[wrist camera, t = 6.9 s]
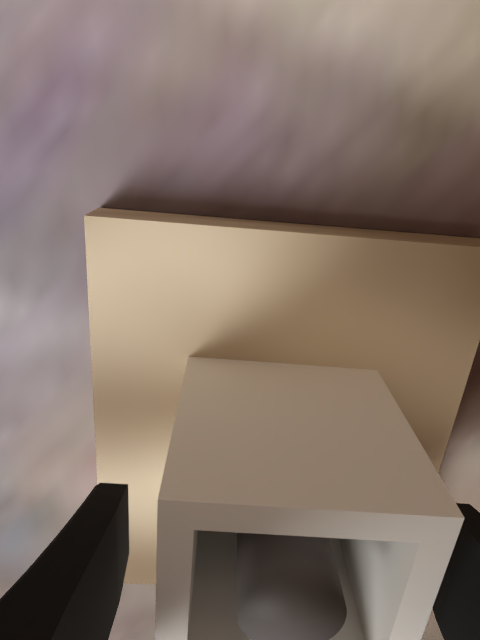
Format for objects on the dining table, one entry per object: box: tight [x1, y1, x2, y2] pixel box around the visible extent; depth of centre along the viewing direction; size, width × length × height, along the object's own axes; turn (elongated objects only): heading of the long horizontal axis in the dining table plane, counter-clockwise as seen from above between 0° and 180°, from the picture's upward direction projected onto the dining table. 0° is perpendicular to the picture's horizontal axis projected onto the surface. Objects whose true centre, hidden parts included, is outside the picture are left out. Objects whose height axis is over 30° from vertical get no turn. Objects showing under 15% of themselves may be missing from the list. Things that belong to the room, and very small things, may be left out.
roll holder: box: [84, 208, 480, 640], centre depth 11 cm, size 12×10×6 cm
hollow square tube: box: [155, 356, 465, 640], centre depth 11 cm, size 5×5×5 cm
